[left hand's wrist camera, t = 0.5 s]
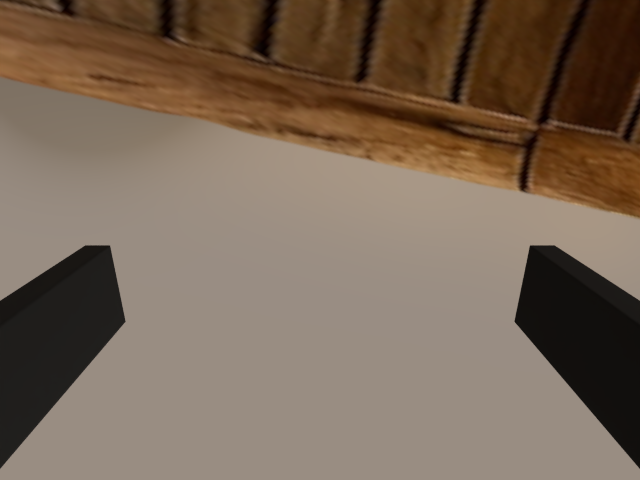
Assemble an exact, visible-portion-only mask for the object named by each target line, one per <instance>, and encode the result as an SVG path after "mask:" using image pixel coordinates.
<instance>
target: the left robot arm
mask: <svg viewBox="0 0 640 480" xmlns="http://www.w3.org/2000/svg"><path fill="white" fill-rule="evenodd" d="M124 323H125V317H124V312H123V307H122V302H121V297H120V292H119V287H118V283H117V278H116V273H115V268H114V263H113V258H112V253H111V248H110V246H84V247H82V248H81V249H79V250H78V251H76V252H75V253H73V254H72V255H70V256H69V257H67V258H65V259H64V260H62V261H61V262H59V263H58V264H56V265H55V266H53V267H52V268H50V269H49V270H47V271H45V272H44V273H42V274H41V275H39V276H38V277H36V278H35V279H33V280H32V281H30V282H28V283H27V284H25V285H24V286H22V287H21V288H19V289H18V290H16V291H15V292H13V293H12V294H10V295H9V296H7V297H5V298H4V299H2V300H1V301H0V468H1V467H2V466H3V465H4V464H5V462H6V461H7V460H8V459H9V458H10V456H11V455H12V454H13V453H14V452H15V451H16V450H17V448H18V447H19V446H20V445H21V444H22V442H23V441H24V440H25V439H26V438H27V437H28V435H29V434H30V433H31V432H32V431H33V430H34V428H35V427H36V426H37V425H38V424H39V422H40V421H41V420H42V419H43V418H44V417H45V415H46V414H47V413H48V412H49V411H50V410H51V408H52V407H53V406H54V405H55V404H56V403H57V401H58V400H59V399H60V398H61V397H62V395H63V394H64V393H65V392H66V391H67V390H68V388H69V387H70V386H71V385H72V384H73V383H74V381H75V380H76V379H77V378H78V377H79V375H80V374H81V373H82V372H83V371H84V370H85V368H86V367H87V366H88V365H89V364H90V363H91V361H92V360H93V359H94V358H95V357H96V356H97V354H98V353H99V352H100V351H101V350H102V349H103V347H104V346H105V345H106V344H107V343H108V341H109V340H110V339H111V338H112V337H113V336H114V334H115V333H116V332H117V331H118V330H119V328H120V327H121V326H122V325H123V324H124ZM515 323H516V324H517V325H518V326H519V327H520V329H521V330H522V331H523V332H524V333H525V334H526V336H527V337H528V338H529V339H530V340H531V342H532V343H533V344H534V345H535V346H536V347H537V349H538V350H539V351H540V352H541V353H542V354H543V356H544V357H545V358H546V359H547V360H548V361H549V363H550V364H551V365H552V366H553V367H554V368H555V370H556V371H557V372H558V373H559V374H560V376H561V377H562V378H563V379H564V380H565V381H566V383H567V384H568V385H569V386H570V387H571V388H572V390H573V391H574V392H575V393H576V394H577V395H578V397H579V398H580V399H581V400H582V401H583V403H584V404H585V405H586V406H587V407H588V408H589V410H590V411H591V412H592V413H593V414H594V415H595V417H596V418H597V419H598V420H599V421H600V423H601V424H602V425H603V426H604V427H605V428H606V430H607V431H608V432H609V433H610V434H611V435H612V437H613V438H614V439H615V440H616V441H617V442H618V444H619V445H620V446H621V447H622V448H623V450H624V451H625V452H626V453H627V454H628V455H629V457H630V458H631V459H632V460H633V461H634V462H635V464H636V465H637V466H638V467H639V468H640V301H639V300H638V299H636V298H635V297H633V296H632V295H630V294H628V293H627V292H625V291H624V290H622V289H621V288H619V287H618V286H616V285H615V284H613V283H612V282H610V281H608V280H607V279H605V278H604V277H602V276H601V275H599V274H598V273H596V272H594V271H593V270H592V269H590V268H588V267H587V266H585V265H584V264H582V263H581V262H579V261H578V260H576V259H575V258H573V257H571V256H570V255H568V254H567V253H565V252H564V251H562V250H561V249H559V248H558V247H556V246H530V248H529V253H528V258H527V263H526V268H525V273H524V278H523V283H522V287H521V292H520V297H519V302H518V307H517V312H516V317H515Z"/></svg>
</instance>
